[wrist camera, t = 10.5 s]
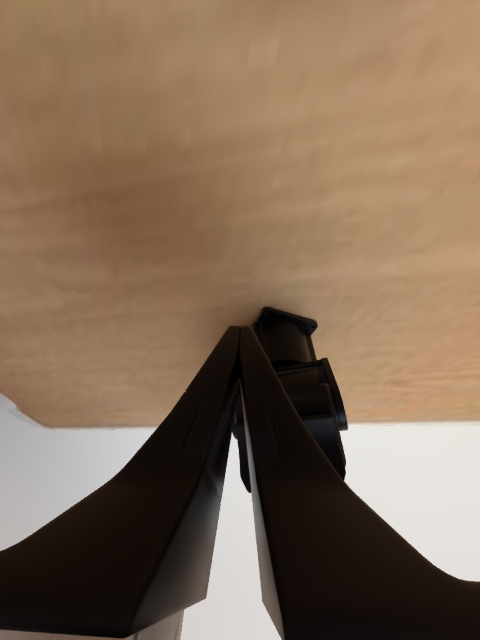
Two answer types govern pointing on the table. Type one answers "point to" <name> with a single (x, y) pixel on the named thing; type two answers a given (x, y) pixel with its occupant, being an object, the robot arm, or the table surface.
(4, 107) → the table surface
